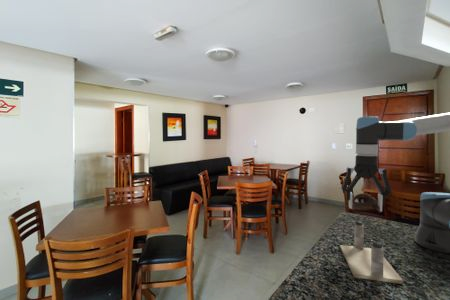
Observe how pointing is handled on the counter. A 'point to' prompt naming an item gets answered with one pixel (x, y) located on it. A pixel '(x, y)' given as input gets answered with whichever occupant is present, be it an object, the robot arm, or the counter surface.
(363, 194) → the pottery mug
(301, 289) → the counter surface
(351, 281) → the counter surface
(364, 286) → the counter surface
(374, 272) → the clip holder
